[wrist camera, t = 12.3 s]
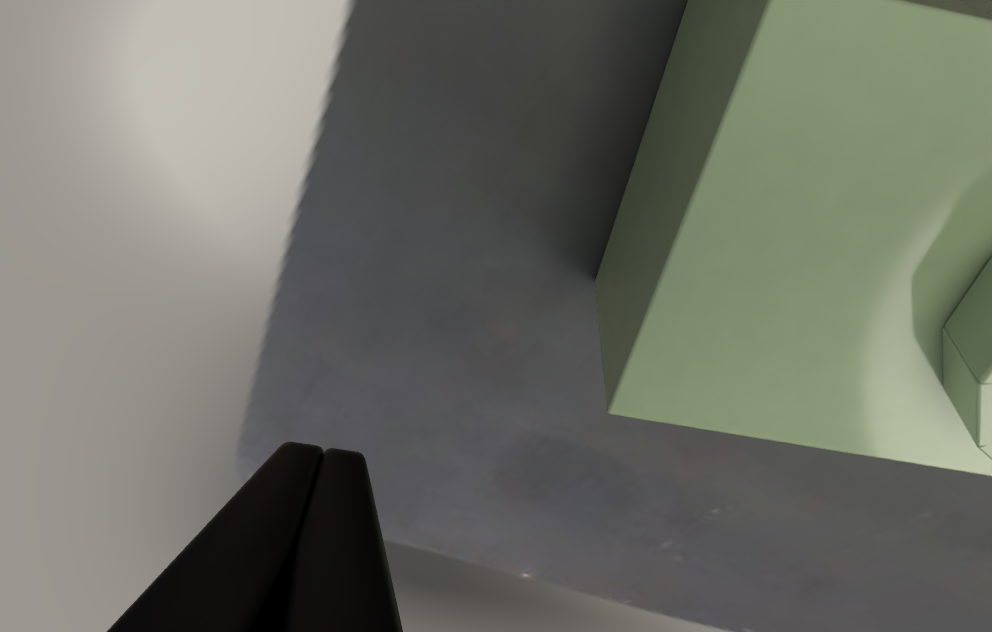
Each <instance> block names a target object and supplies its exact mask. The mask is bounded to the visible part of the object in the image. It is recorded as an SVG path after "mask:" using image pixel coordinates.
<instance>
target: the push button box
mask: <svg viewBox="0 0 992 632" xmlns="http://www.w3.org/2000/svg"><path fill="white" fill-rule="evenodd" d="M595 293H596V303H597V313H598V323H599V332H600V342H601V352H602V362H603V372H604V382H605V392H606V402H607V411H608V413H609V414H613V415H619V416H625V417H631V418H637V419H643V420H649V421H655V422H662V423H668V424H674V425H680V426H686V427H692V428H698V429H705V430H711V431H717V432H723V433H729V434H735V435H741V436H747V437H754V438H760V439H766V440H772V441H778V442H784V443H790V444H796V445H803V446H809V447H815V448H821V449H827V450H833V451H839V452H845V453H852V454H858V455H864V456H870V457H876V458H882V459H888V460H894V461H901V462H907V463H913V464H919V465H925V466H931V467H937V468H943V469H950V470H956V471H962V472H968V473H974V474H980V475H986V476H992V0H688V2H687V5H686V8H685V11H684V14H683V17H682V20H681V23H680V26H679V29H678V32H677V35H676V38H675V41H674V44H673V47H672V50H671V53H670V56H669V59H668V62H667V65H666V68H665V71H664V74H663V77H662V80H661V83H660V86H659V89H658V92H657V95H656V98H655V102H654V105H653V108H652V111H651V114H650V117H649V120H648V123H647V126H646V129H645V132H644V135H643V138H642V141H641V144H640V147H639V150H638V153H637V156H636V159H635V162H634V165H633V168H632V171H631V174H630V177H629V180H628V183H627V186H626V189H625V192H624V195H623V198H622V201H621V204H620V207H619V210H618V213H617V216H616V219H615V222H614V226H613V229H612V232H611V235H610V238H609V241H608V244H607V247H606V250H605V253H604V256H603V259H602V262H601V265H600V268H599V271H598V274H597V277H596V280H595Z"/></svg>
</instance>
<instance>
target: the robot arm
mask: <svg viewBox="0 0 992 632" xmlns="http://www.w3.org/2000/svg"><path fill="white" fill-rule="evenodd" d="M107 632H403V630H402V626H401V621H400V616H399V612H398V607H397V602H396V598H395V593H394V589H393V585H392V579H391V575H390V571H389V565H388V561H387V556H386V552H385V547H384V542H383V538H382V533H381V529H380V524H379V520H378V515H377V510H376V506H375V501H374V497H373V492H372V487H371V483H370V478H369V474H368V469H367V464H366V460H365V458H364V456H363V454H361V453H359V452H354V451H348V450H342V449H335V448H329V449H327V450H326V451H325V452H324V451H323V449H322V448H321V447H319V446H316V445H310V444H303V443H297V442H286V443H284V444H282V445H281V446H280V447H279V448H278V449H277V450H276V451H275V452H274V453H273V454H272V455H271V456H270V458H269V459H268V460H267V461H266V462H265V463H264V464H263V465H262V466H261V467H260V468H259V469H258V470H257V471H256V473H255V474H254V475H253V476H252V477H251V478H250V479H249V480H248V481H247V482H246V483H245V484H244V485H243V486H242V487H241V489H240V490H239V491H238V492H237V493H236V494H235V495H234V496H233V497H232V498H231V499H230V500H229V501H228V503H227V504H226V505H225V506H224V507H223V508H222V509H221V510H220V511H219V512H218V513H217V514H216V515H215V516H214V517H213V518H212V520H211V521H210V522H209V523H208V524H207V525H206V526H205V527H204V528H203V529H202V530H201V531H200V532H199V534H198V535H197V536H196V537H195V538H194V539H193V540H192V541H191V542H190V543H189V544H188V545H187V546H186V547H185V548H184V550H183V551H182V552H181V553H180V554H179V555H178V556H177V557H176V558H175V559H174V560H173V561H172V562H171V563H170V565H169V566H168V567H167V568H166V569H165V570H164V571H163V572H162V573H161V574H160V575H159V576H158V577H157V578H156V579H155V580H154V582H153V583H152V584H151V585H150V586H149V587H148V588H147V589H146V590H145V591H144V592H143V593H142V594H141V595H140V597H139V598H138V599H137V600H136V601H135V602H134V603H133V604H132V605H131V606H130V607H129V608H128V609H127V610H126V611H125V613H124V614H123V615H122V616H121V617H120V618H119V619H118V620H117V621H116V622H115V623H114V624H113V625H112V627H111V628H110V629H109V630H108V631H107Z"/></svg>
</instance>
